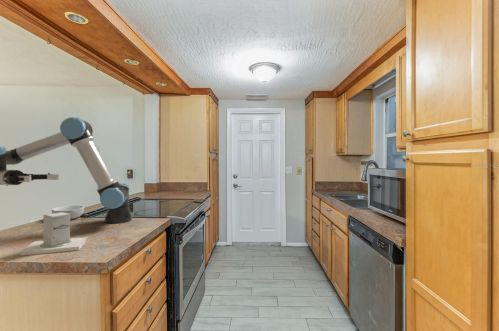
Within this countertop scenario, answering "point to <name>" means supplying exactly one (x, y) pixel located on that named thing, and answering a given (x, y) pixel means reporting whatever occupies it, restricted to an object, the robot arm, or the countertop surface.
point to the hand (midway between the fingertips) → (44, 178)
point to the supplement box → (56, 228)
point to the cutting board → (53, 247)
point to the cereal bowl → (70, 210)
